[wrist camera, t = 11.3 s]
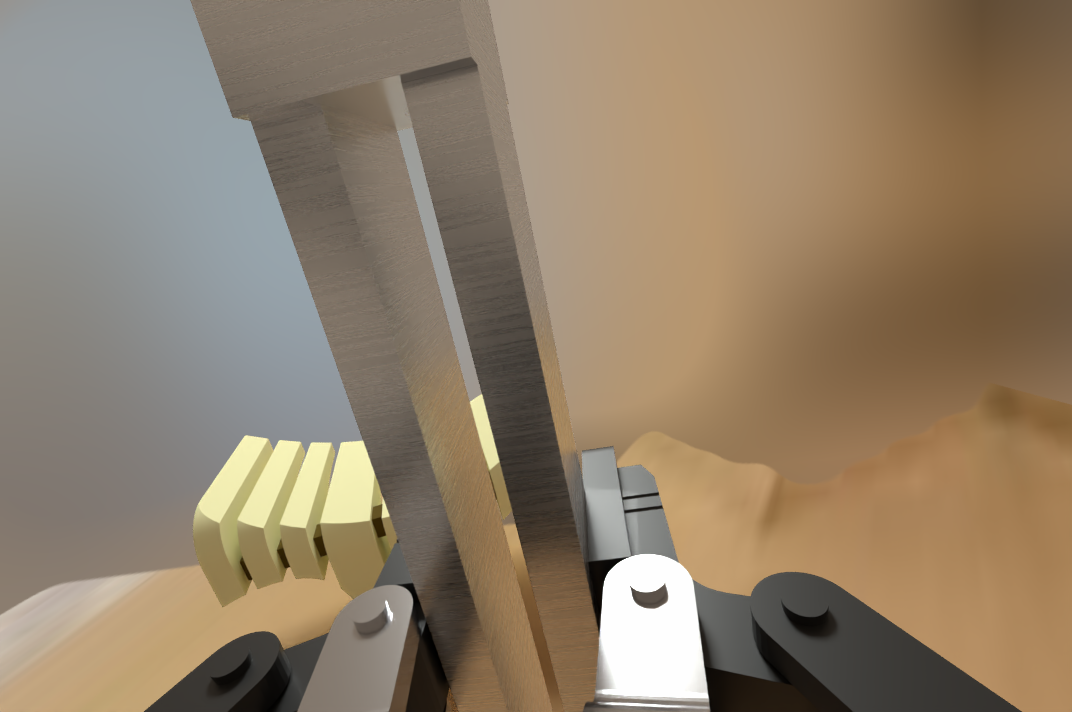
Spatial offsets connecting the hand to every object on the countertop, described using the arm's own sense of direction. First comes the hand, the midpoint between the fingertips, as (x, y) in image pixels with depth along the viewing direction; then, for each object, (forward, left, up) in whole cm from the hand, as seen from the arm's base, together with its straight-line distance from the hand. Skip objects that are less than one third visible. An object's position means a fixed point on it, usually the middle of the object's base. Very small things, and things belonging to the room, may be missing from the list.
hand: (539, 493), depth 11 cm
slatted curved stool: (-28, +22, -30) cm, 46 cm away
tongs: (+1, -3, -13) cm, 14 cm away
